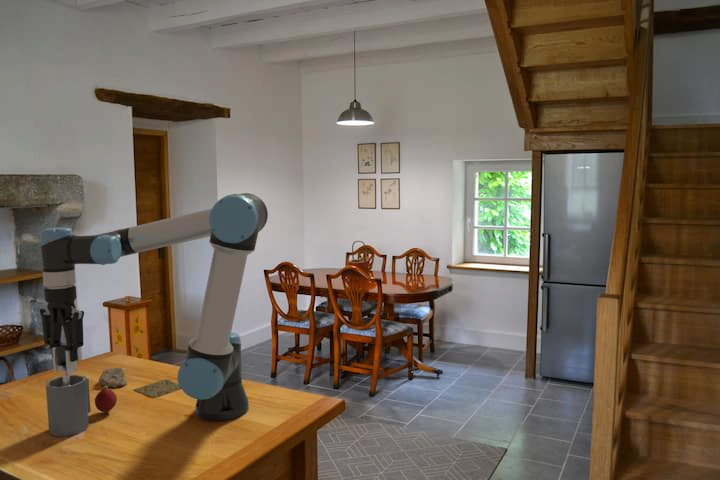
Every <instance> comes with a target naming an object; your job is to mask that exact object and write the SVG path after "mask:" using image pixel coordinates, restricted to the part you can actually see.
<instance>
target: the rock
mask: <svg viewBox="0 0 720 480" xmlns="http://www.w3.org/2000/svg"><path fill="white" fill-rule="evenodd" d="M98 378H99V379H98V384H100V385H101V386H108V387H111V388H117V387H123V386H126V385H128V382H127V379H126V373H125V371H124V369H122V367H117V368H116V367H115V368H108V369H105V370H103V371H102V373H101V375H100V376H99V377H98Z"/></svg>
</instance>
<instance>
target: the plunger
mask: <svg viewBox="0 0 720 480" xmlns="http://www.w3.org/2000/svg"><path fill="white" fill-rule="evenodd" d="M61 343H62V344H58V345H56V361H57V365H59V366H62V370H61V373H62V376H63V386H70V378H69V375H70V374H67V367H66V352H65V349H68V347H67V343H66V342H64V343H63V342H61Z"/></svg>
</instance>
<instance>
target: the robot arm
mask: <svg viewBox="0 0 720 480" xmlns="http://www.w3.org/2000/svg"><path fill="white" fill-rule="evenodd" d="M268 218H269V212H268V208H267V205H266V203H265V202H264V201H263V199H261V198H260V197H259V196H257V195H255V194H254V193H247V192H246V193H245V192H243V193H231V194H228V195H225V196H223V197H222V198H220V199H219V200H217V202H215V203H214V205H213V206H212V208H207V209H203V210H199V211H194V212H191V213H185V214H181V215H178V216H174V217H173V216H172V217H168V218H164V219H160V220H156V221H152V222H147V223H144V224H139V225H134V226H131V227H125V228H121V229H116V230H113V231H109V232H104V233H99V234H94V235H92V234H91V235H75V234H74V232H73V229H72V228H71V227H63V226H62V227H48V228H44V229H43V230H41V231H40V251H41V252H40V253H41V261H42V281H43V282H42V283H43V286H44V287H45V288H44V289H43V293H44V294H43V295H44V302H45V303H47V306H46V307H42V308H40V309H39V313H40V314H39V315H40V316H41V321H42V322H41V323H42V331H43V342H44V345H45V346H46V345H48V346H49V348H50V349H51V351H50V352H51V359H52V363H53V372H54V373H58V372H62V366H59V365H57V361H56V345H58V344H62V343H63V342H62V340H61V339H62V332H63V333H64V337H65V343H67V347H68V349H65V352H66V367H67V374H69V375H73V374H74V373H77V372H78V359H79V356H78V349H79V348H81V347H83V346H84V342H85V341H84V321H83V320H84V316H85V310H78V309H77V307H76V304H75V301H76V299H77V298H78V296H77V286H76V285H75V284H76V271H75V270H76V269H75V267H76V266H75V265H101V266H104V265H105V266H106V265H114V264H116V263H117V262H118V261H119V260H120V258H121V257H126V256H129V255H134V254H138V253H143V252H147V251H152V250H156V249H159V248H164V247H169V246H174V245H178V244H182V243H187V242H192V241H196V240H201V239H204V238H209V244H210V245H211V247H212V248H213V254H212V257H211V263H210V268H209V273H208V278H207V282H206V286H205V291H204V296H203V297H204V298H203V301H202V307H201V312H200V317H199V322H198V327H197V332H196V336H194V337H193V338H192V339H190V340H189V341H188V347H187V350H186V356H185V360H184V361H183V362H182V363H181V365H180V367H179V369H178V372H177V377H176V378H177V384H179V386H180V388H181V389H180V390H182V391H183V393H184V394H185V395H187V396H188V397H190V398H192V399H195V400H196V402H195V415H196V417H198V418H199V419H200V420H204V421H210V422H211V421H212V422H219V421H227V420H233V419H237V418H239V417H241V416H244V415H245V414H246V413H247V412H248V411H249V405H250V404H249V401H250V400H249V399H248V396H247V393H246V390H245V388H244V385H243V381H242V379H243V378H242V377H243V375H242V373H243V372H242V369H243V368H242V342H241V336H240V335H239V334H238V333H236V332H232V330H233V324H234V322H235V321H234V320H235V315H236V312H237V311H236V310H237V306H238V301H239V296H240V293H241V286H242V282H243V278H244V273H245V268H246V264H247V260H248V259H247V258H248V256H249V255H250V254H252V253H253V252H254V251H255V250H256V245H257V240H258V235H259V232H261V231H262V230H263V229H264V227H265V226H266V224H267V222H268ZM62 330H63V331H62Z"/></svg>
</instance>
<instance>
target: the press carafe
mask: <svg viewBox="0 0 720 480" xmlns="http://www.w3.org/2000/svg"><path fill="white" fill-rule="evenodd" d="M69 378H70V386H63V375H61V376H58V377H55V378H53V379H49V380H47V381H46V385H45V391H46V406H47V407H46V408H47V420H48V422H47V423H48V432H49V435H51V436H53V437H56V438H57V437H58V438H64V437H71V436H74V435H78V434H81V433H83V432H85V431H86V430H87V429H88V428H89V425H90V424H89V420H90V419H89V413H91V412H92V411H91V410H92V409H91V398H90V397H91V396H90V395H91V394H90V383H89V382H90V381H89V378H88V377H87V376H86V375H78V374H69Z"/></svg>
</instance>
